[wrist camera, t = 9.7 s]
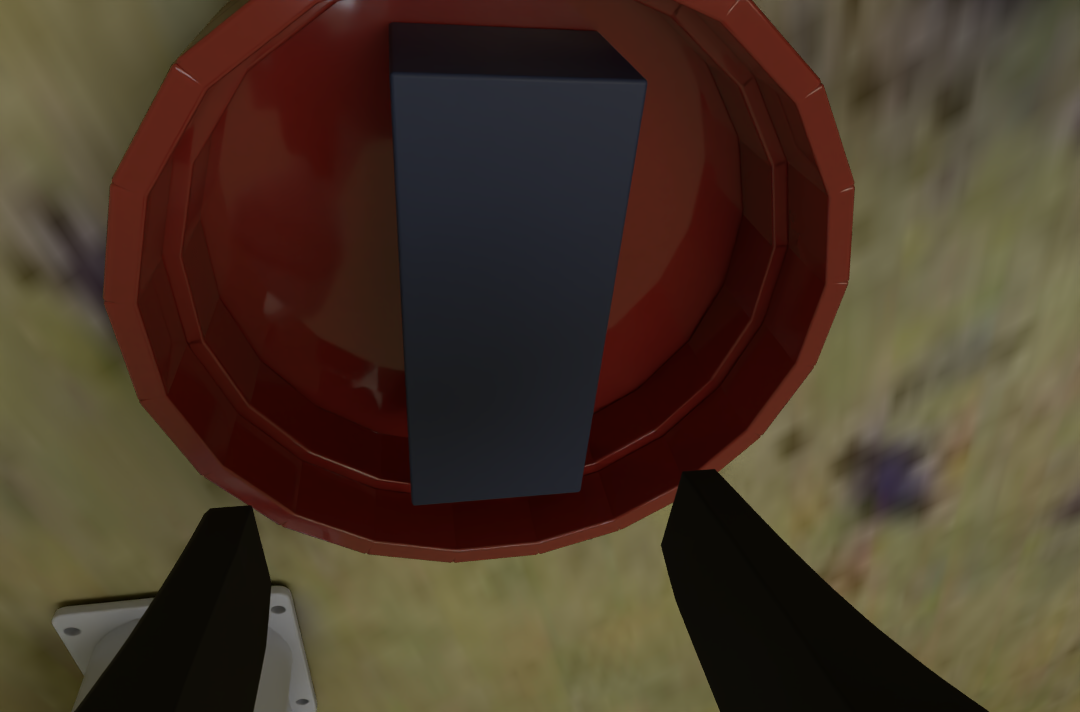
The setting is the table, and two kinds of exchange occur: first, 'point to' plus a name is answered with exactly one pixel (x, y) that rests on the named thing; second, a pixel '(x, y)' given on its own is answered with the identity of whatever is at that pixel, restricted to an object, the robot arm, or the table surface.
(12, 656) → the table surface
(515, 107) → the dark blue-grey block
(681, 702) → the table surface
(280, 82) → the bowl
